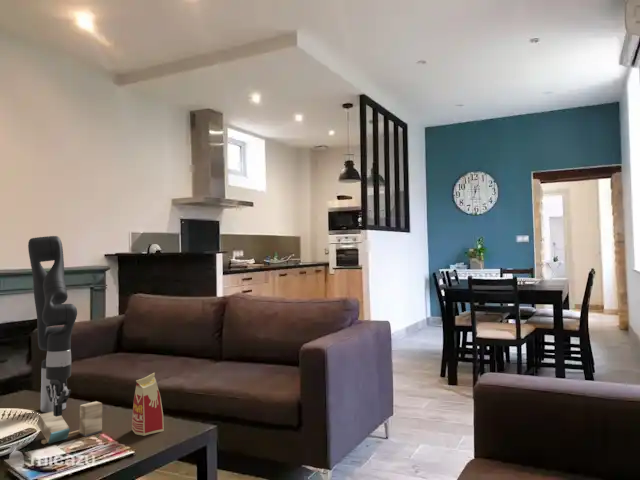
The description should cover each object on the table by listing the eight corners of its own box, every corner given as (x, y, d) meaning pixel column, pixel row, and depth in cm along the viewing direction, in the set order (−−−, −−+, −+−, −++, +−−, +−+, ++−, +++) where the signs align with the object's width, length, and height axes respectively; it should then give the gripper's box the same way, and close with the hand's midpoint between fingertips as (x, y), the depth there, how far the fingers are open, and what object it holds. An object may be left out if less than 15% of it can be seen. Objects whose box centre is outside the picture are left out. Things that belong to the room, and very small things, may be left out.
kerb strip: (41, 443, 165) (41, 440, 166) (96, 427, 181) (96, 425, 181) (43, 444, 165) (43, 441, 165) (98, 428, 180) (98, 425, 180)
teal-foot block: (48, 443, 164) (36, 423, 170) (67, 438, 169) (54, 419, 175) (51, 434, 163) (39, 414, 169) (70, 429, 168) (57, 410, 174)
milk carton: (153, 425, 184) (153, 369, 185) (165, 430, 177) (165, 373, 178) (128, 430, 177) (129, 373, 178) (140, 437, 171) (141, 377, 172)
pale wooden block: (79, 434, 174) (79, 405, 175) (95, 429, 179) (96, 401, 179) (85, 436, 172) (85, 407, 172) (101, 431, 177) (102, 403, 177)
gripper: (37, 363, 170) (36, 414, 169) (57, 368, 162) (55, 422, 161) (60, 359, 176) (59, 409, 175) (79, 364, 168) (78, 416, 167)
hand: (57, 415), depth 168 cm, fingers closed
